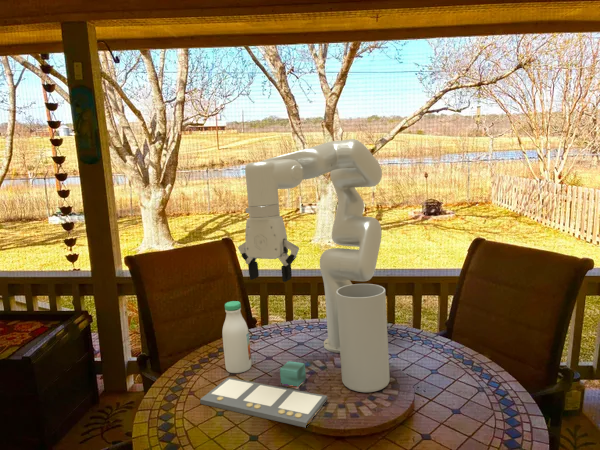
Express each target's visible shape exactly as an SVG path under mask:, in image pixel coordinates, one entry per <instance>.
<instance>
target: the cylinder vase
mask: <svg viewBox="0 0 600 450" xmlns="http://www.w3.org/2000/svg"><path fill="white" fill-rule="evenodd" d="M336 295H337V310H338V325H339V340H340V353H339V354H340V368H341V369H340V370H341V380H342V384H343V385H344V386H345V387H346V388H347V389H349V390H352V391H355V392H357V393H358V392H360V393H373V392H378V391H381V390H383V389H384V388H386V387H387V386H388V385H389V383H390V378H391V377H390V361H389V360H390V358H389V357H390V356H389V341H388V337H389V336H388V318H387V298H386V297H387V296H386V288H385V287H383V286H382V285H379V284H373V283H355V284H353V283H352V285H347V286H343V287H341V288H339V289H337V291H336Z"/></svg>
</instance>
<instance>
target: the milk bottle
mask: <svg viewBox="0 0 600 450" xmlns="http://www.w3.org/2000/svg"><path fill="white" fill-rule="evenodd" d="M241 310H242V304H241V302H240V301H238V300H237V301H236V300H232V301H227V302H225V303H224V311H225V313H226V314H225V318H224V319H225V320H224V322H223V326H222V334H221V336H222V344H223V345H222V346H223V355H224V364H225V369H226V371H227V372H228V373H230V374H241V373H244V372H247V371H249V370H250V369H251V368H252V354H251V353H252V352H251V341H250V335H249V327H248V325H247V321H246V320H245V318H244V317H243V315H242V312H241Z"/></svg>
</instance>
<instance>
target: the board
mask: <svg viewBox="0 0 600 450" xmlns="http://www.w3.org/2000/svg"><path fill="white" fill-rule="evenodd" d="M326 400H327V401H328V395H324V394H319V393H312V392H307V391H303V390H299V389H293V388H287V387H282V386H275V385H270V384H266V383H265V384H264V383H259V382H254V381H248V380H243V379H238V378H233V377H227V378H225V379H224V380H223V381H222V382H220V383H219V384H218V385H217V386H215V387H214V388H213V389H212V390H210V391H209V392H208V393H206V394H205V395H204V396H202V397H200V399H199V401H200V405H205V406H209V407H213V408H218V409H221V410H222V409H223V410H225V411H227V410H228V411H231V412H236V413H240V414H243V415H244V414H245V415H249V416H253V417H256V418H257V417H258V418H262V419H266V420H271V421H276V422H279V423H284V424H288V425H293V426H296V427H302V428H305V429H307V428H306V425H307V423H308V421H309V420H310V419H311V418H312V417H313V416H314V415H315V413H316V412H317V411H318V410H319V409H320V408H321V407H322V405H323V404H324V403H325V402H326ZM326 403H327V402H326ZM326 403H325V404H326ZM325 404H324V405H325ZM322 408H323V407H322ZM322 408H321V409H322Z"/></svg>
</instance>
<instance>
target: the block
mask: <svg viewBox="0 0 600 450" xmlns="http://www.w3.org/2000/svg"><path fill="white" fill-rule="evenodd" d="M306 375H307V374H306V363H305V362H304V363H303V362H297V361H292V360H291V361H290V360H288V361H287V362H286V363H284V365H282V366H281V367H280V368H279V376H280V384H281V383H282V384H288V385H293V386H297V387H298V386H299V385H300V384H301V383H302V382H303V381H304V380H305V379H306V380H307V376H306Z"/></svg>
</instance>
